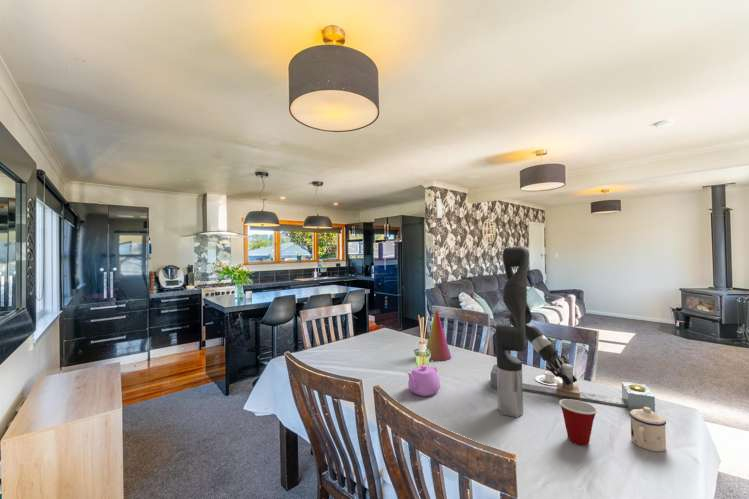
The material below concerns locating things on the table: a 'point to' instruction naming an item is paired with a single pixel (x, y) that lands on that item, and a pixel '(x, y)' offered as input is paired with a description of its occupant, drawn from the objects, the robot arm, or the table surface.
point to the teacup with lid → (648, 429)
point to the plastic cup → (578, 420)
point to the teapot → (424, 380)
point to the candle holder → (549, 378)
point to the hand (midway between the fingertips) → (572, 382)
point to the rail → (631, 395)
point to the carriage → (569, 389)
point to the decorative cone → (438, 341)
